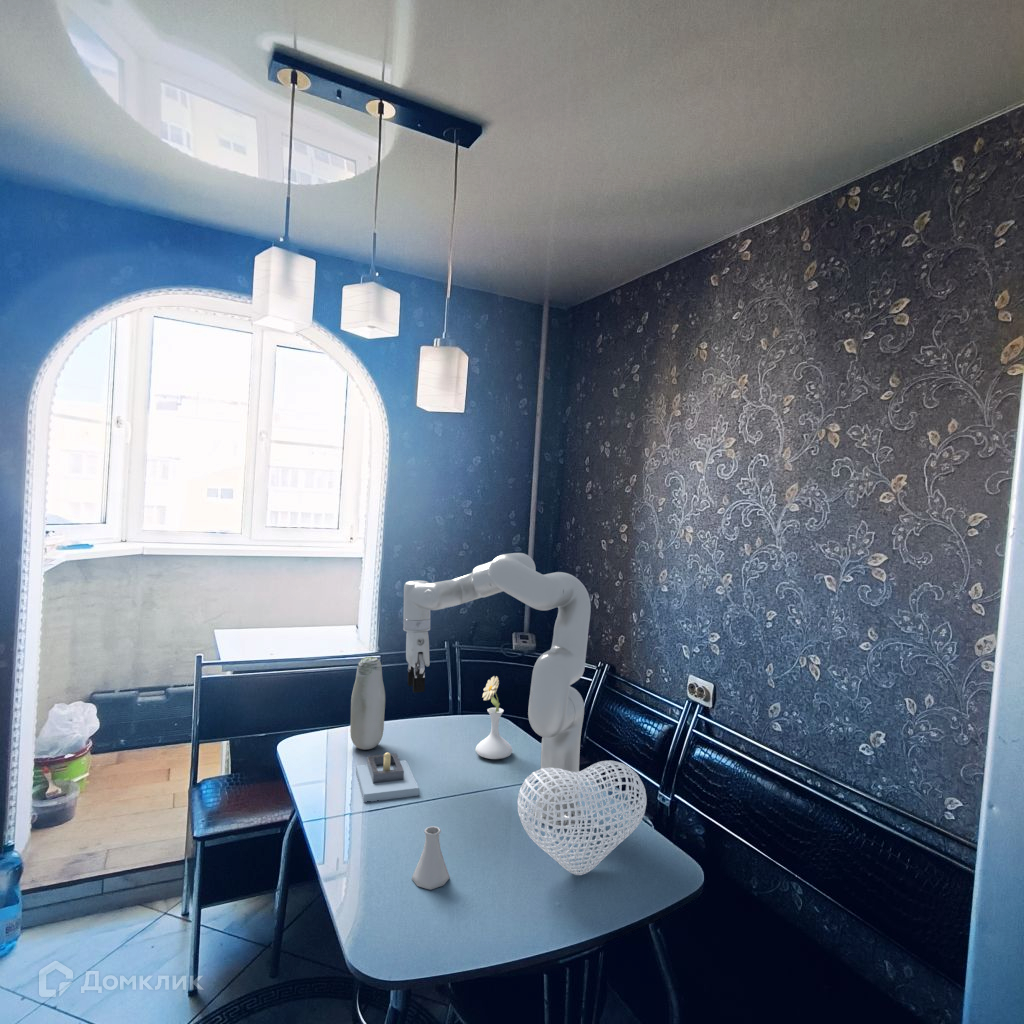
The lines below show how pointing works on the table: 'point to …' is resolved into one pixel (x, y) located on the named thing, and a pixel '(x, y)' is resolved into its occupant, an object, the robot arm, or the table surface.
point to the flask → (431, 862)
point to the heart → (581, 778)
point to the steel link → (387, 774)
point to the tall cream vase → (367, 704)
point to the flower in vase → (493, 727)
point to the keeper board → (386, 783)
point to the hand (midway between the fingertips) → (416, 688)
